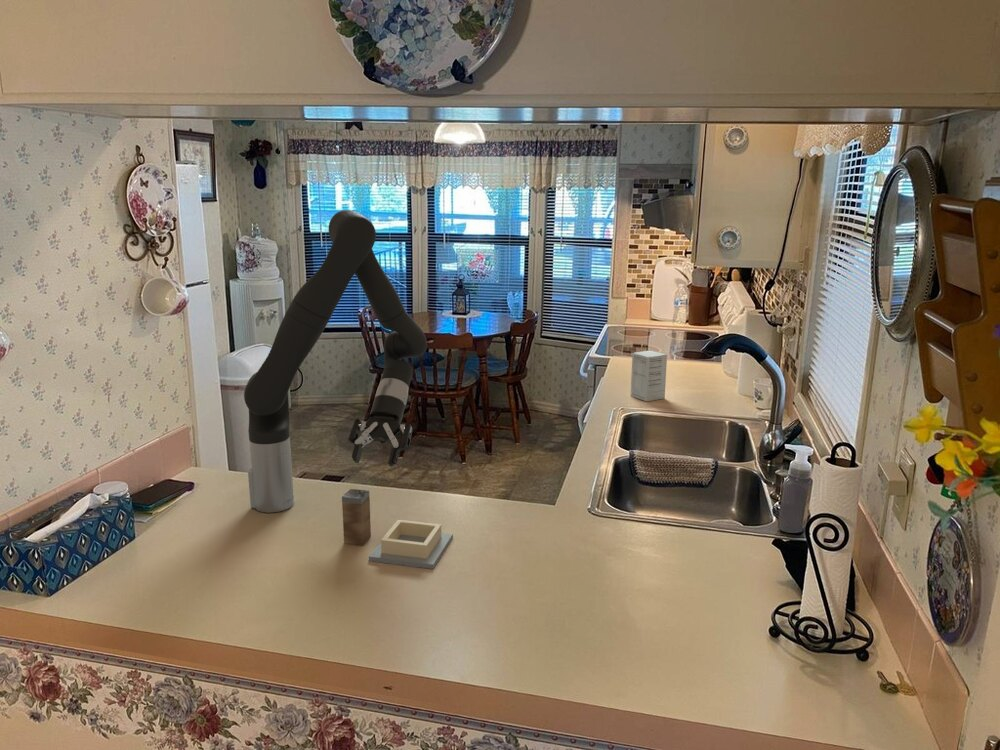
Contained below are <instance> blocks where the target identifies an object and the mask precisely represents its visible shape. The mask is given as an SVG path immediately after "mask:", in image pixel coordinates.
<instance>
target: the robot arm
mask: <svg viewBox="0 0 1000 750" xmlns="http://www.w3.org/2000/svg"><path fill="white" fill-rule="evenodd" d="M328 235H329V238H330V240H331V242H332V245H331V247H330V249H329V251H328V253H327V255H326V257H325V259H324V261H323V263H322V264H321V266H320V267H319V268H318V270H317V271H316V272H315V273H314V274H313V275H311V277H310V278H309V279H308V280H307V281H306V282H305V283H304V284H303V285H302V286H301V287H300V288H299V290H297V292H296V294H295V296H294V297H293V299H292V300H291V303H290V304H289V306H288V308H287V310H286V312H285V314H284V315H283V318H282V320H281V323H280V325H279V328H278V330H277V332H276V335H275V337H274V340H273V343H272V345H271V348H270V351H269V352H268V355H267V357H266V358H265V359H264V361H263V363H262V364H261V366H260V367H259V369H258V370H257V372H254V373H253V374H252V375H251V376H250V378H249V379H248V382H247V383H246V386H245V387H244V392H243V399H244V403H245V405H246V407H247V409H248V429H247V430H248V440H249V442H248V443H249V453H250V465H251V466H250V467H251V468H250V469H249V470H248V471H247V476H248V488H249V502H250V508H251V509H255V510H256V511H258V512H261V513H267V514H268V513H269V514H270V513H278V512H283V511H286V510H288V509H290V508H292V506H293V505H294V504H295V500H294V499H295V497H294V496H295V495H294V484H293V483H294V482H293V480H294V479H293V464H292V452H291V437H290V436H291V435H290V434H291V433H290V407H289V406H290V405H289V403H290V402H289V391H290V387H291V386H292V383H293V381H294V379H295V376H296V374H297V373H298V370H299V368H300V367H301V365H302V364H303V362H304V361H305V359H306V358H307V357H308V355H309V354H310V352H311V351H312V349H313V348H314V346H315V345H316V344H317V342H318V340H319V338H320V337H321V335H322V333H323V332H324V330H325V328H326V327H327V325H328V323H329V321H330V320H331V318H332V317H333V316H332V315H333V313H334V312H335V309H336V308H337V306H338V304H339V302H340V301H341V299H342V296H343V295H344V293H345V291H346V289H347V287H348V285H349V283H350V282H351V280H352V278H353V276H354V275H356V278H357V280H358V282H359V283H360V286H361V288H362V291H363V292H364V294H365V297H366V299H367V300H368V303H369V305H370V307H371V308H372V311H373V313H374V315H375V317H376V318H377V321H378V323H379V324H380V326H381V327H382V329H385V330H387V331H388V330H389V331H392V332H390V333H389V334H388V335H387V336H386V338H385V339H384V341H383V342H384V344H383V350H384V351H383V352H384V353H383V355H384V357H383V361H384V362H383V363H384V367H383V372H382V374H381V378H380V380H379V381H380V382H379V384H378V386H377V389H376V393H375V396H374V399H373V403H372V406H371V410H370V413H369V417H368V419H367V421H363V420H361V419H360V418H355V419H354V422H353V424H352V428H351V430H350V433H349V436H348V439H347V440H348V442H349V443H350V444H351V446H354V447H353V451H352V454H351V458H352V461H353V462H354V464H359V463H360V460H361V457H362V454H363V450H364V449H363V448H364V447H365V446H366V445H367V444H370V443H372V441H375V442H380V441H381V442H386V443H388V442H389V441H390V442H391V444H392V446H393V447H392V448H391V449H390V450H391V451H390V453H389V458H388V466H389V467H395V465H397V464H398V460H399V456H400V453H401V452H402V451H408V450H410V447H411V441H412V435H413V427H412V425H411V423H410V422H406V423H405V424H403V423H402V420H403V416H404V412H405V409H406V405H407V403H408V398H409V389H410V385H411V383H412V382H411V381H412V377H413V371H414V370H413V367H412V365H411V364H410V363H408V362H406V361H404V360H403V359H409V358H412V359H413V358H419V357H421V356H423V355H425V352H426V351H427V349H428V340H427V337H426V335H425V333H424V330H423V329H422V328H421V326H419V324H418V323H417V322H415V320H414V319H413V318H412V316H411V315H410V314H409V313H408V312H407V311H406V309H405V307H404V304H403V303H402V300H401V298H400V296H399V294H398V292H397V291H396V288H395V287H394V285H393V283H392V282H391V280H390V279H389V277H388V276H387V273H386V272H385V270H383V267H382V266H381V265H380V263H379V260H378V259H377V256H376V255H375V253H374V250H373V247H374V245H375V242H376V238H377V232H376V228H375V226H374V224H373V222H372V221H371V220H369V218H367V217H366V216H364V215H362V214H361V213H360V212H357V211H354V210H351V209H350V210H349V209H344V210H340V211H337V212H336V213H335V214H334V215H333V216H331V219H330V220H329V224H328ZM401 423H402V424H401ZM365 428H366V429H365ZM364 429H365V430H364ZM362 431H363V432H362ZM361 432H362V433H361ZM400 432H402V439H401V442H400V443H399V441H398V439H397V437H396V435H397V434H398V433H400Z"/></svg>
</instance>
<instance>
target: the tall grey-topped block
mask: <svg viewBox="0 0 1000 750" xmlns="http://www.w3.org/2000/svg"><path fill="white" fill-rule="evenodd" d="M341 505H342V506H341V507H342V509H341V510H342V526H343V527H342V528H343V530H342V531H343V544H344V545H352V546H358V547H359V546H360V547H364V546H365V544H367V542H368V541H369V540H371V538H372V528H371V527H372V525H371V524H372V523H371V503H370V490H364V489H355V488H350V489H349V490H348V491H346V493H344V494H343V495H342V496H341Z"/></svg>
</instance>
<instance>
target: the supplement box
mask: <svg viewBox="0 0 1000 750" xmlns="http://www.w3.org/2000/svg"><path fill="white" fill-rule="evenodd" d="M631 354H632V355H631V356H632V357H631V359H632V360H631V376H630V377H631V378H630V397H633V398H636V399H638V400H640V401H641V400H642V401H644V402H651V401H657V400H663V399H666V382H667V381H666V379H667V363H668V354H665V353H663V352H662V353H661V352H658V351H655V350H644V351H636V352H632V353H631Z"/></svg>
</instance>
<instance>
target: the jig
mask: <svg viewBox="0 0 1000 750" xmlns="http://www.w3.org/2000/svg"><path fill="white" fill-rule="evenodd" d="M453 539H454V534H453V533H448V532H447V533H446V532H442V524H441V523H440V524H439V523H431V522H423V521H414V520H413V521H412V520H404V519H397V520H396V522H395V523H394V524H392V526H391V527H390V529H389V530H388V531H387V532H386V533H385V535H384V536H383V537H382V538H381V539H380V542H379V543H378V545H377V546H376V547H375V549H373V551H372V552H371V553H370V555H368V561H369V562H377V563H383V564H391V565H399V566H406V567H414V568H415V567H416V568H423V569H431V570H433V569H435V567H436V566H437V564H438V563H439V561H440V560H441V557H442V556H443V555H444V552H445V551H446V550H447V548H448V546H449V545H450V543H451V542H452V540H453Z"/></svg>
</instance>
